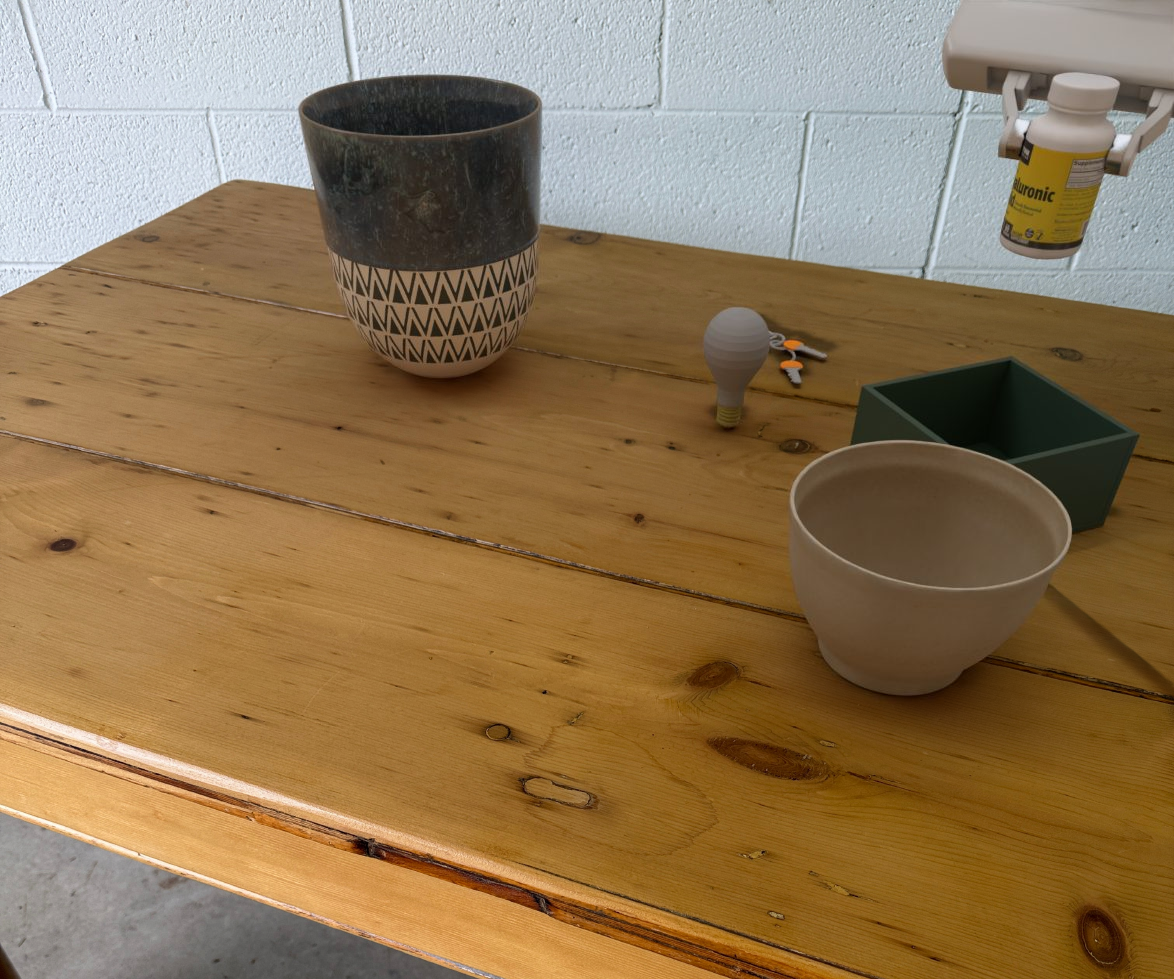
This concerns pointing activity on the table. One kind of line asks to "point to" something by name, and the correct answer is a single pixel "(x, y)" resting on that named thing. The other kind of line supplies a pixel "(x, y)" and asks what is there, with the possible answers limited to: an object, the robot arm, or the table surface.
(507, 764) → the table surface
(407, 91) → the planter
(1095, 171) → the supplement bottle
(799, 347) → the key chain
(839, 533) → the planter bowl
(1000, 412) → the bin
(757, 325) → the light bulb
